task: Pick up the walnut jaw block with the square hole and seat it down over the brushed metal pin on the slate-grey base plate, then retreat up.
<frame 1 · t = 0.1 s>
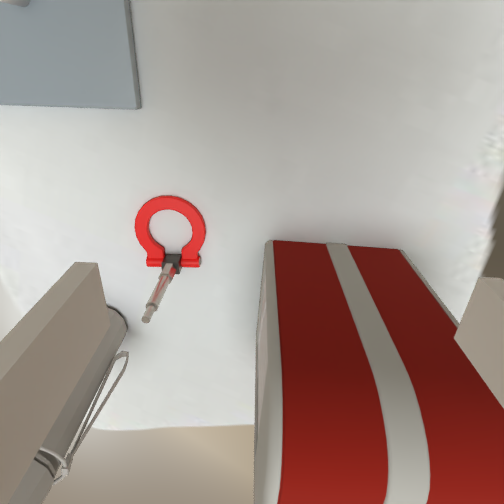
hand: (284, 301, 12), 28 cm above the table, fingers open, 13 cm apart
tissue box: (324, 296, 47), on the table
water bottle: (110, 322, 49), on the table
tow hook: (172, 230, 42), on the table
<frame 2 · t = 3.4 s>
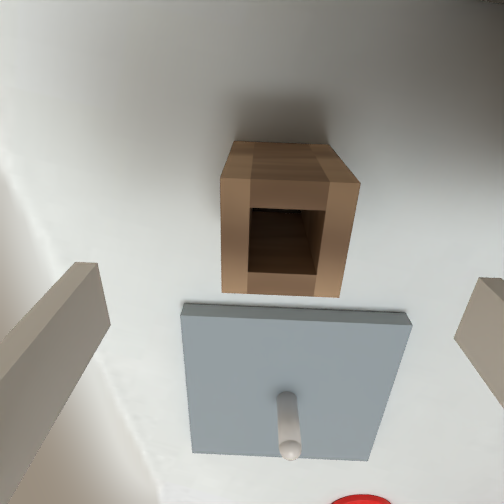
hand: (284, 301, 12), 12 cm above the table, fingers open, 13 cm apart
pin plate: (285, 384, 32), on the table
jaw block: (278, 188, 23), on the table
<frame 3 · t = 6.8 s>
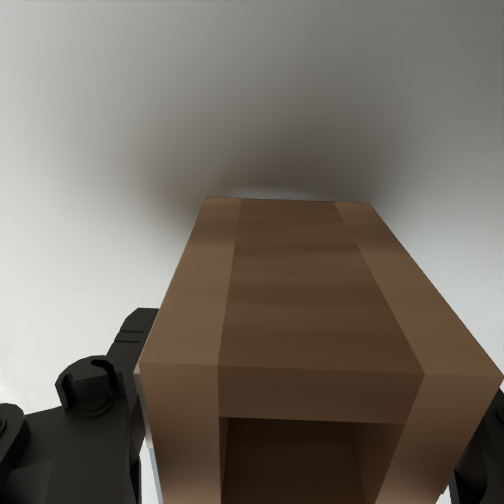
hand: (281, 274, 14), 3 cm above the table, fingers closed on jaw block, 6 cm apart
jaw block: (281, 269, 14), point 2 cm above the table, touching gripper
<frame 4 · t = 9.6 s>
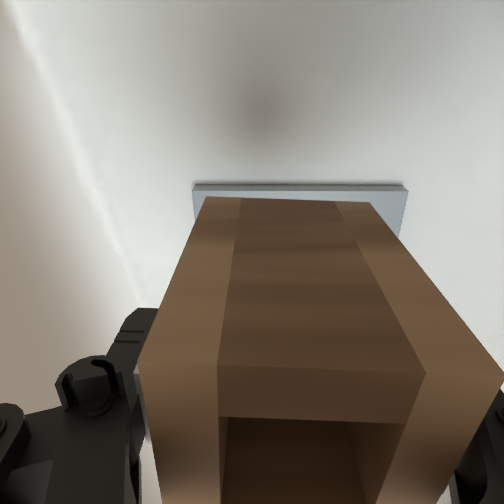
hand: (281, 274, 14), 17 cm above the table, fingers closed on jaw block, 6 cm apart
pin plate: (292, 271, 34), on the table
jaw block: (281, 268, 14), point 17 cm above the table, touching gripper
when the fingers open (3 cm above the table, at t = 12.9 s): jaw block drops 1 cm, resting on pin plate.
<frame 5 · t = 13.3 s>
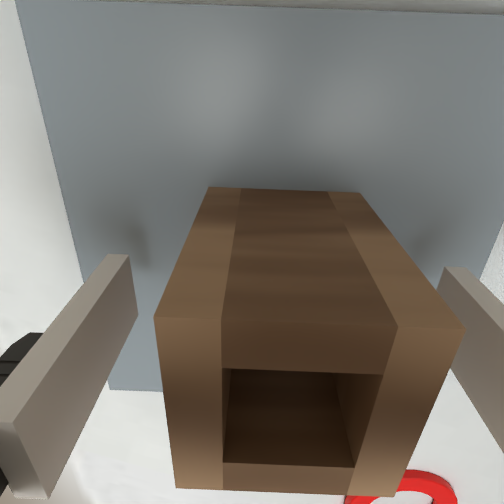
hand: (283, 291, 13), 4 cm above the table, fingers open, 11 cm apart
tow hook: (394, 498, 28), on the table
pin plate: (278, 241, 16), on the table
jaw block: (278, 255, 15), point 1 cm above the table, touching pin plate
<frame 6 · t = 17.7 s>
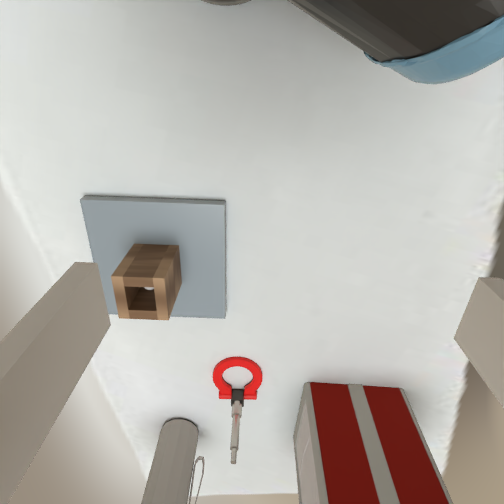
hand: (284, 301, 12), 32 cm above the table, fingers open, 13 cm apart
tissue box: (345, 414, 64), on the table
water bottle: (185, 428, 67), on the table
tow hook: (237, 375, 60), on the table
pin plate: (161, 259, 48), on the table
jaw block: (158, 263, 47), point 1 cm above the table, touching pin plate
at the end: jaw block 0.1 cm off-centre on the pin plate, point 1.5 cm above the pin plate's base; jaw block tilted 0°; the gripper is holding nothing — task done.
